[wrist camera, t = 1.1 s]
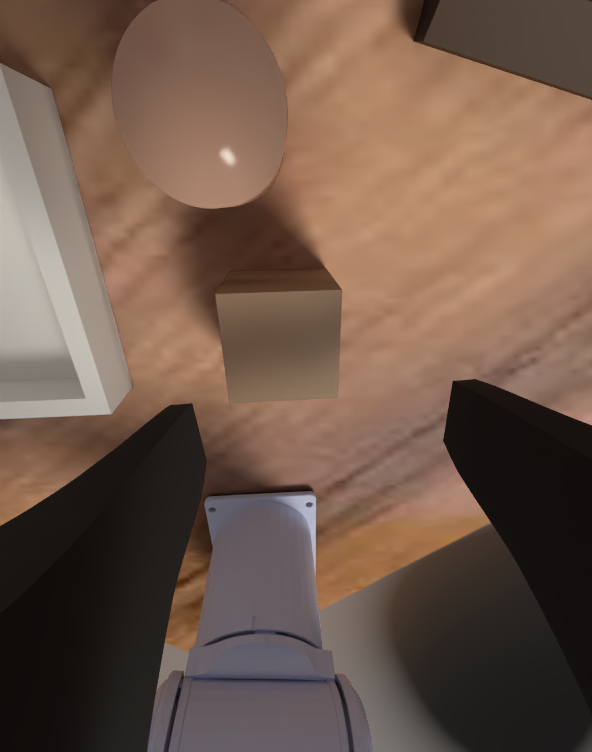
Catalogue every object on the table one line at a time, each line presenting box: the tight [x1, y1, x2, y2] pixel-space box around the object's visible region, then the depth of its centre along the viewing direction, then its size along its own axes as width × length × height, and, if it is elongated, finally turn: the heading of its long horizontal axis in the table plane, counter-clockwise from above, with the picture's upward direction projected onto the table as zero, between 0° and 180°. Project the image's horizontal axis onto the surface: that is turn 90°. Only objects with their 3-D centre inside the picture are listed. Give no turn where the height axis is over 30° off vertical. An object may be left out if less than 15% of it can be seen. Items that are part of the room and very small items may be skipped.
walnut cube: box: [215, 268, 342, 403], centre depth 17 cm, size 5×5×5 cm
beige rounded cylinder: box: [112, 0, 288, 209], centre depth 13 cm, size 5×5×6 cm
